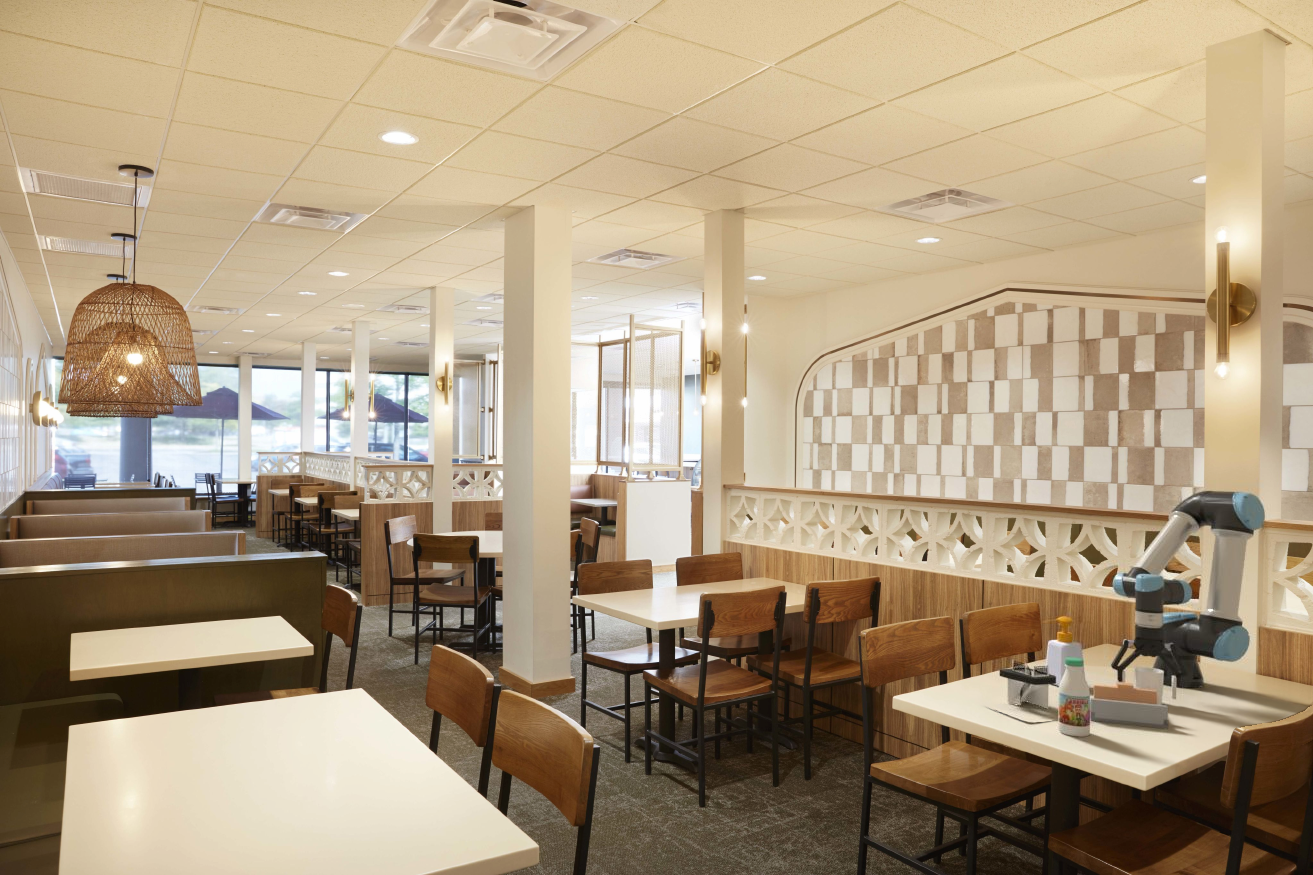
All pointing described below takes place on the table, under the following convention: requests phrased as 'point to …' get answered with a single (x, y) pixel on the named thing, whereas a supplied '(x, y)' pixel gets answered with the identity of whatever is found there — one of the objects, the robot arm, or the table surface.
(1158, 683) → the white cup
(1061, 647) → the soap bottle
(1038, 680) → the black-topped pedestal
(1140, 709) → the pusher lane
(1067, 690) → the milk bottle
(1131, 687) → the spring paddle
